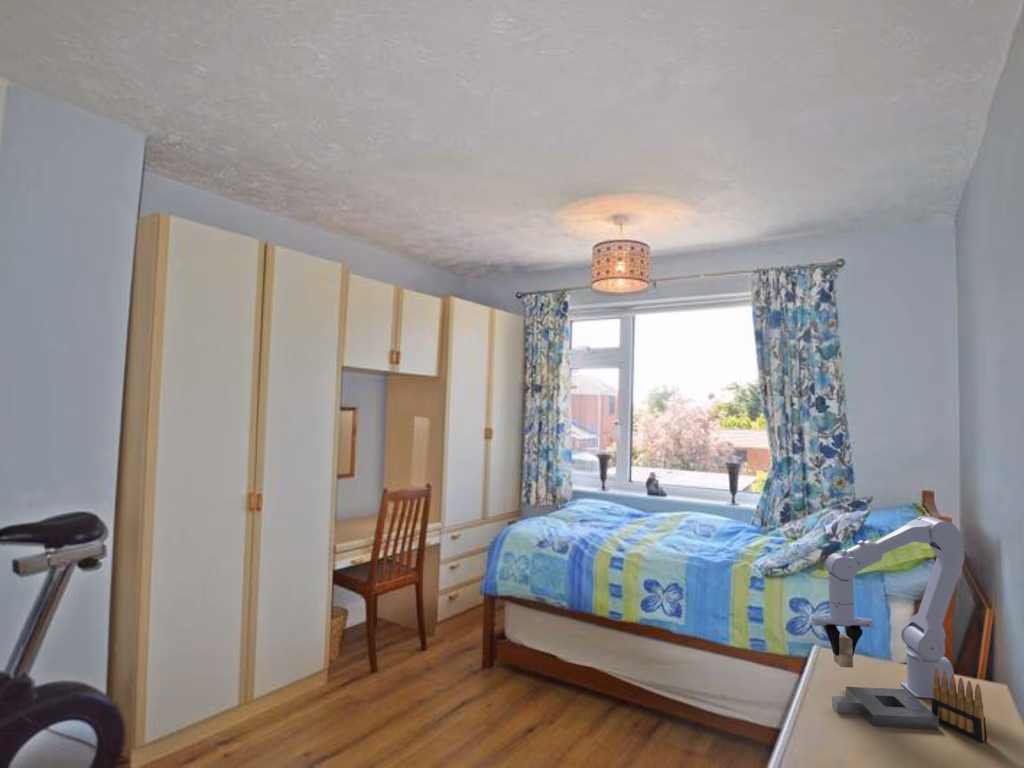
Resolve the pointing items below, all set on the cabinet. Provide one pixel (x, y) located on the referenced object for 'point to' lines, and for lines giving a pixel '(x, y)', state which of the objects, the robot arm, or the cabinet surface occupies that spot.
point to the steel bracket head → (896, 713)
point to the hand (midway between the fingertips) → (843, 654)
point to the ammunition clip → (959, 707)
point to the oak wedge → (844, 652)
